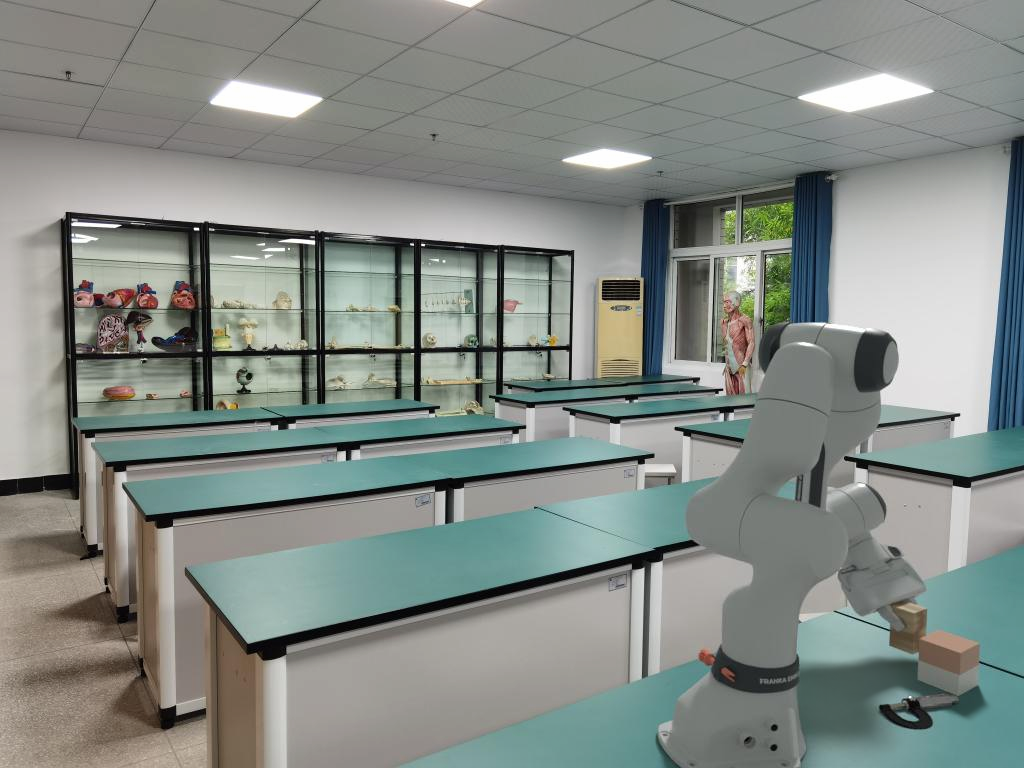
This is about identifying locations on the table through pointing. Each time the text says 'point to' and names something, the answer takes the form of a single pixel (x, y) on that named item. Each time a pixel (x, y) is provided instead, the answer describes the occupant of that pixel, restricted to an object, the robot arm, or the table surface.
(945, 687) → the off-white tower block
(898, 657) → the table surface
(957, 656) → the terracotta tower block
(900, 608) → the oak block
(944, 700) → the micrometer
